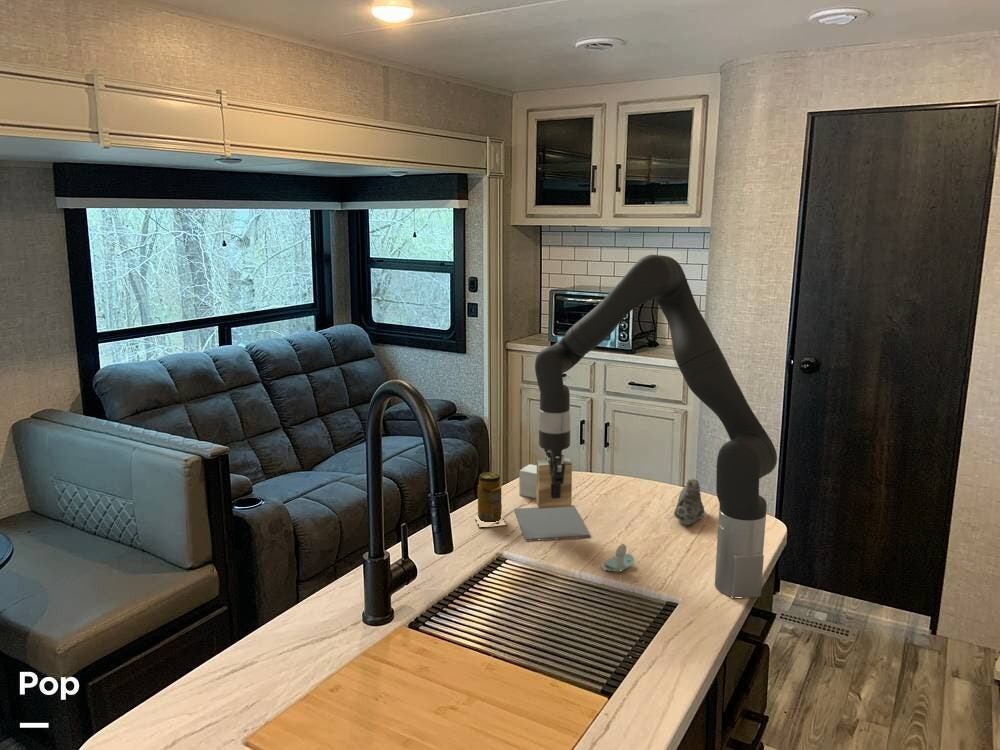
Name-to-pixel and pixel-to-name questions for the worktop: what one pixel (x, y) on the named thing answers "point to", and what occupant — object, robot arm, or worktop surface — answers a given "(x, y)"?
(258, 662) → the worktop surface
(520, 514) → the mat
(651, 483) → the worktop surface
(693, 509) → the mineral rock
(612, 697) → the worktop surface
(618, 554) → the pacifier
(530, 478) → the product box
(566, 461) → the block
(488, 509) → the condiment
